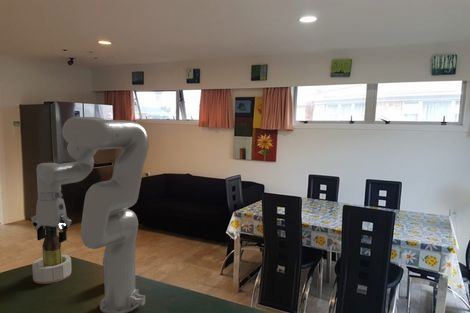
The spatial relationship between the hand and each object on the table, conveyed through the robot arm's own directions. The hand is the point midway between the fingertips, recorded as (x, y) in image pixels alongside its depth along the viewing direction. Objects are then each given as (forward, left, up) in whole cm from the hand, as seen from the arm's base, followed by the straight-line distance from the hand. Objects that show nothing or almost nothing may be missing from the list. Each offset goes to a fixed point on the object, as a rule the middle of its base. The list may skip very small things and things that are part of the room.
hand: (52, 240), depth 122 cm
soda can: (-25, -1, -14) cm, 29 cm away
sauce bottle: (0, 0, -14) cm, 14 cm away
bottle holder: (0, 0, -14) cm, 14 cm away
